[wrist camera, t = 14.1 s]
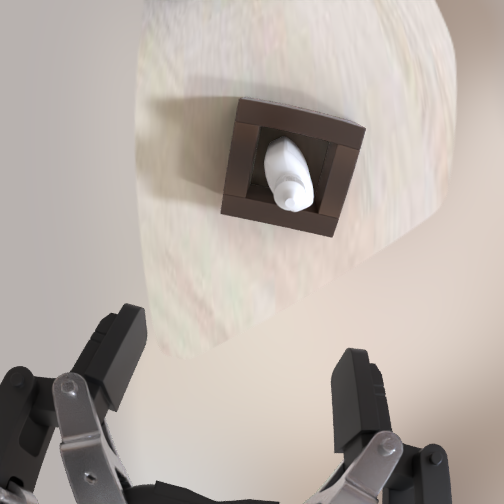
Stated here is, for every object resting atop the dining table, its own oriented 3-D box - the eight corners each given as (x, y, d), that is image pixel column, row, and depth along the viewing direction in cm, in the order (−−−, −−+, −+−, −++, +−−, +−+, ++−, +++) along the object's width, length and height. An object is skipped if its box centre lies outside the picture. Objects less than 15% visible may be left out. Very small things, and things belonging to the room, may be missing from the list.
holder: (245, 96, 27) (239, 98, 24) (355, 122, 28) (366, 128, 24) (228, 197, 34) (220, 214, 30) (327, 219, 34) (332, 237, 30)
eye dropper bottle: (310, 136, 29) (324, 165, 19) (307, 186, 32) (317, 240, 22) (268, 134, 29) (258, 162, 19) (267, 184, 32) (258, 237, 22)
